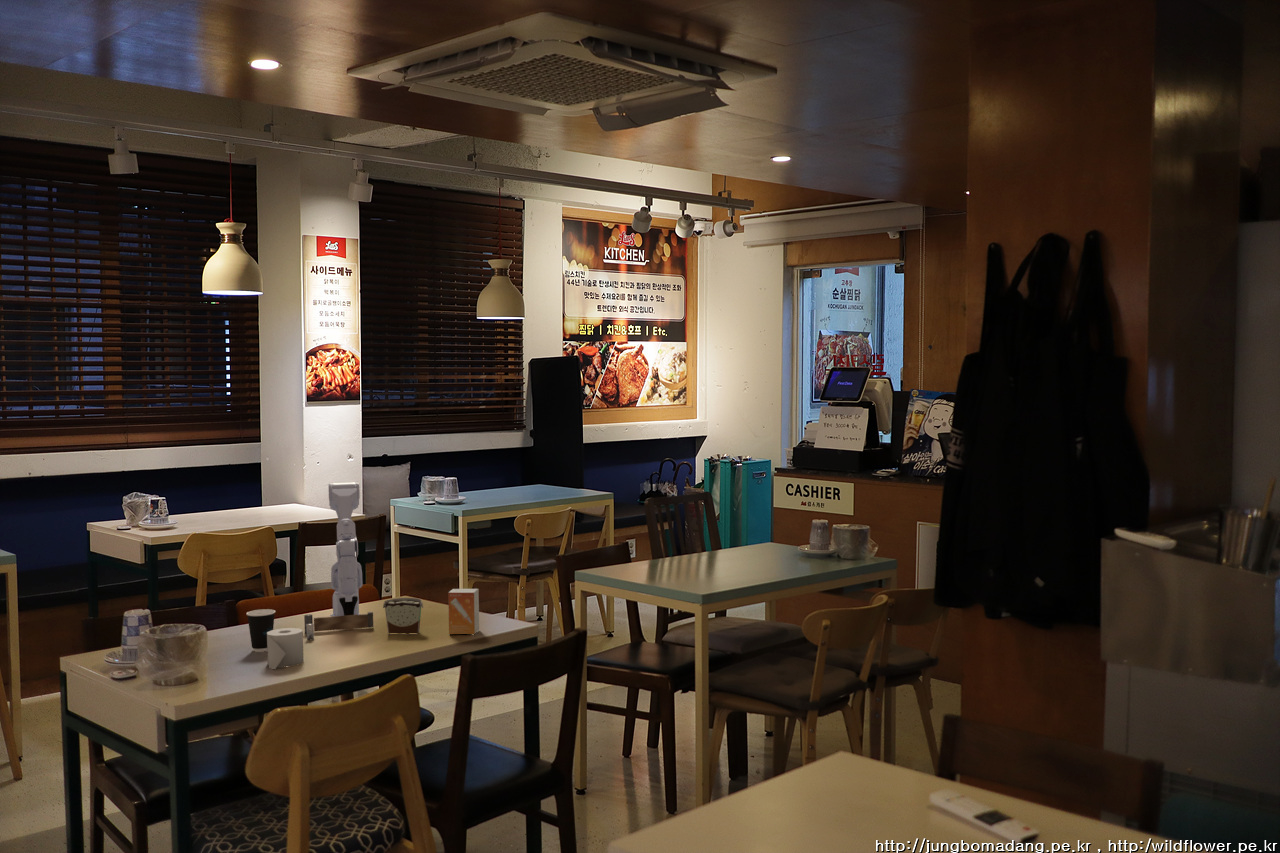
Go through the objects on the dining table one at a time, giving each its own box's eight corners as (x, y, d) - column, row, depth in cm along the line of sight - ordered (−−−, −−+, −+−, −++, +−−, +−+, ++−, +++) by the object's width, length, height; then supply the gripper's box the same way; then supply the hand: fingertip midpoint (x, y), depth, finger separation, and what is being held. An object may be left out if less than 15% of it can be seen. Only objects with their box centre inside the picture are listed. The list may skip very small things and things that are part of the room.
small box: (448, 635, 327) (447, 592, 326) (453, 630, 333) (452, 588, 332) (475, 635, 326) (474, 592, 326) (479, 630, 332) (478, 588, 332)
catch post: (305, 639, 325) (305, 624, 325) (312, 638, 326) (312, 623, 326) (308, 640, 323) (307, 625, 323) (314, 639, 324) (314, 624, 324)
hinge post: (303, 632, 333) (303, 615, 333) (311, 631, 335) (310, 614, 334) (306, 634, 331) (305, 616, 331) (314, 633, 333) (313, 615, 333)
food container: (429, 629, 335) (428, 597, 335) (423, 634, 329) (422, 601, 328) (390, 629, 336) (389, 597, 336) (383, 634, 330) (382, 601, 330)
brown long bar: (314, 631, 333) (313, 616, 332) (314, 630, 334) (313, 615, 334) (373, 627, 337) (373, 612, 337) (373, 626, 339) (372, 611, 339)
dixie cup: (250, 647, 315) (249, 609, 315) (278, 646, 317) (277, 608, 316) (245, 654, 307) (243, 615, 307) (274, 652, 309) (273, 614, 308)
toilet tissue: (270, 672, 287) (269, 639, 287) (266, 661, 299) (265, 630, 299) (306, 668, 291) (305, 636, 290) (301, 657, 303) (300, 626, 303)
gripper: (334, 574, 346) (335, 616, 347) (334, 582, 332) (335, 626, 333) (357, 573, 348) (358, 615, 349) (358, 580, 334) (359, 624, 335)
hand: (349, 620), depth 341 cm, fingers closed
